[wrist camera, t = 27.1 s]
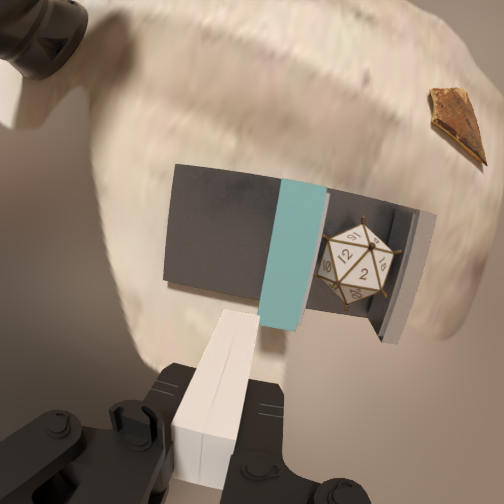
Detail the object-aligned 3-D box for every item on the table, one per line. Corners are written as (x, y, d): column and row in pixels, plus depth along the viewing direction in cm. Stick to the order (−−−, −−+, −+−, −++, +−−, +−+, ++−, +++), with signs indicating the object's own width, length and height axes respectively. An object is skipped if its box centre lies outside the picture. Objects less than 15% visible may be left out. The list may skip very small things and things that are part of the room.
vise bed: (179, 164, 33) (153, 161, 25) (407, 207, 31) (436, 214, 24) (167, 276, 36) (142, 298, 29) (378, 314, 34) (397, 344, 27)
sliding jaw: (282, 179, 30) (281, 178, 25) (322, 187, 30) (332, 188, 24) (260, 300, 34) (255, 324, 28) (297, 307, 34) (299, 332, 28)
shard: (481, 166, 29) (489, 166, 27) (441, 173, 30) (448, 173, 28) (460, 89, 26) (467, 86, 25) (418, 91, 28) (424, 88, 26)
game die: (355, 252, 35) (408, 305, 28) (297, 280, 34) (345, 344, 26) (359, 190, 29) (428, 242, 22) (290, 217, 28) (355, 285, 20)
